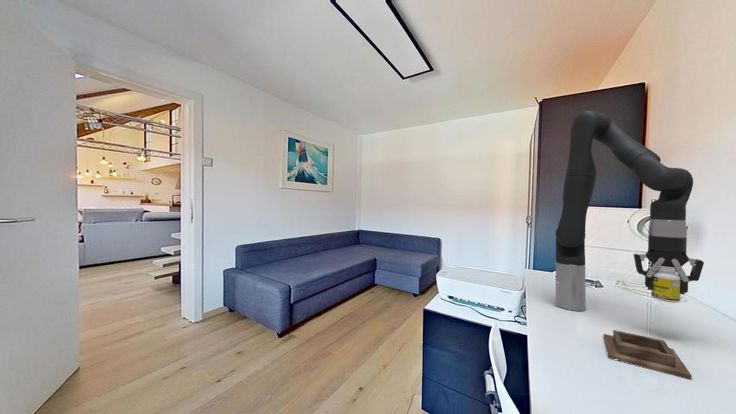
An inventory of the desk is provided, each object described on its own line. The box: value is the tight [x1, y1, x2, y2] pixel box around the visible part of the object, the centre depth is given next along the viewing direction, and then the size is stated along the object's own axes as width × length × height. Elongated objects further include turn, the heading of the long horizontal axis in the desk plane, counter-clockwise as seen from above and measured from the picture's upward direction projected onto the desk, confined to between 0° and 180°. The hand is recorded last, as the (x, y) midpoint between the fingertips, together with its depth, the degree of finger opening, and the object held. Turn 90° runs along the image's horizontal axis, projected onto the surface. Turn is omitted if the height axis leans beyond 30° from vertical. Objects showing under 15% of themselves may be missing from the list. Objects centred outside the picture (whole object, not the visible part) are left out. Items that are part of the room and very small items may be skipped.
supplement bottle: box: [650, 266, 681, 304], centre depth 78 cm, size 6×6×10 cm
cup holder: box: [603, 329, 693, 381], centre depth 70 cm, size 14×14×4 cm
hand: (665, 291), depth 78 cm, fingers closed on supplement bottle, 5 cm apart
